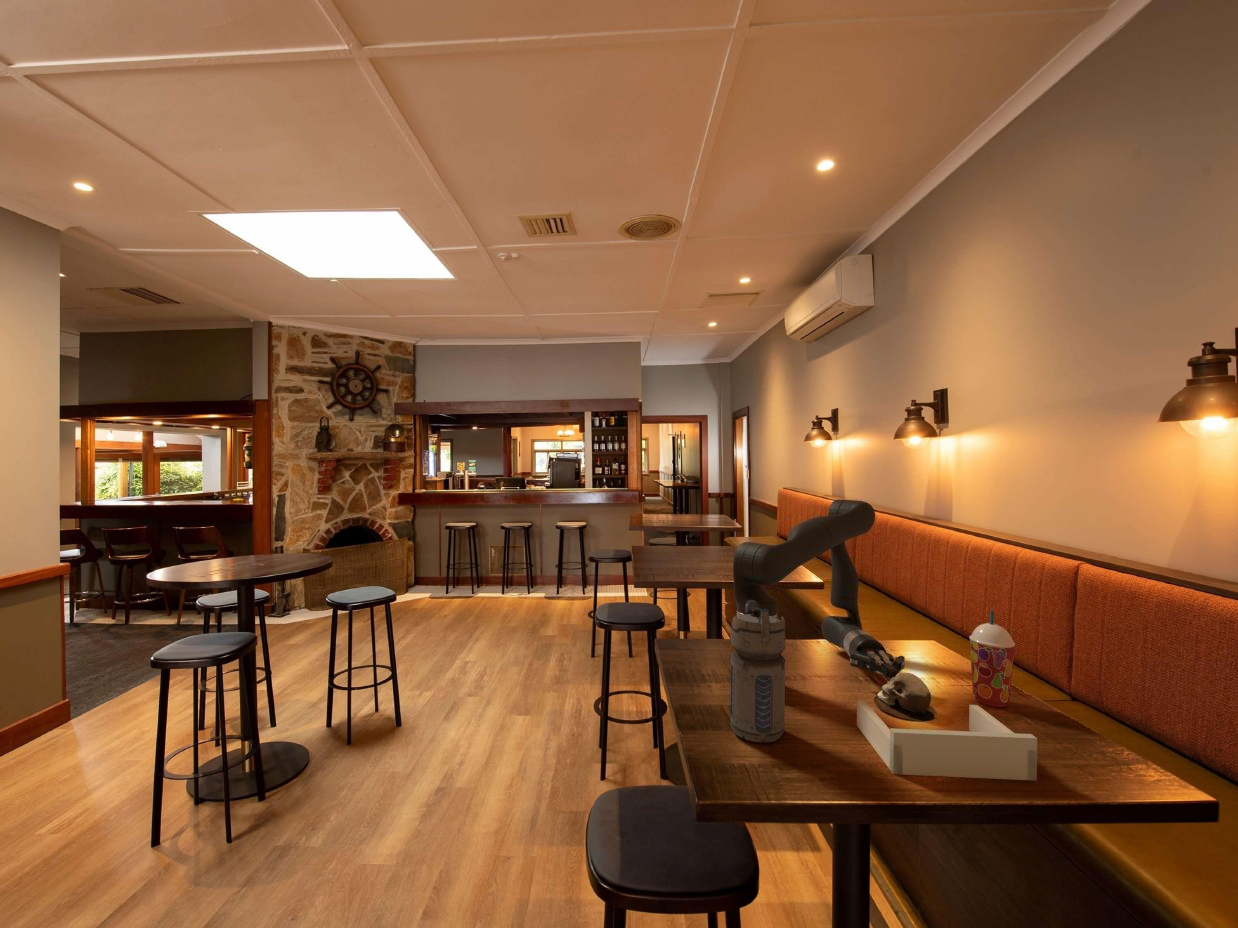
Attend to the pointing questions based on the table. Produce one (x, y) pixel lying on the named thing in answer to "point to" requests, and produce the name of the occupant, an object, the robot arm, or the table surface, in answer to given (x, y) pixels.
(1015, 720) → the table surface
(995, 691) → the smoothie
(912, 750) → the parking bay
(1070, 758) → the table surface
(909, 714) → the skull
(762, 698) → the beverage bottle
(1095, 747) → the table surface
